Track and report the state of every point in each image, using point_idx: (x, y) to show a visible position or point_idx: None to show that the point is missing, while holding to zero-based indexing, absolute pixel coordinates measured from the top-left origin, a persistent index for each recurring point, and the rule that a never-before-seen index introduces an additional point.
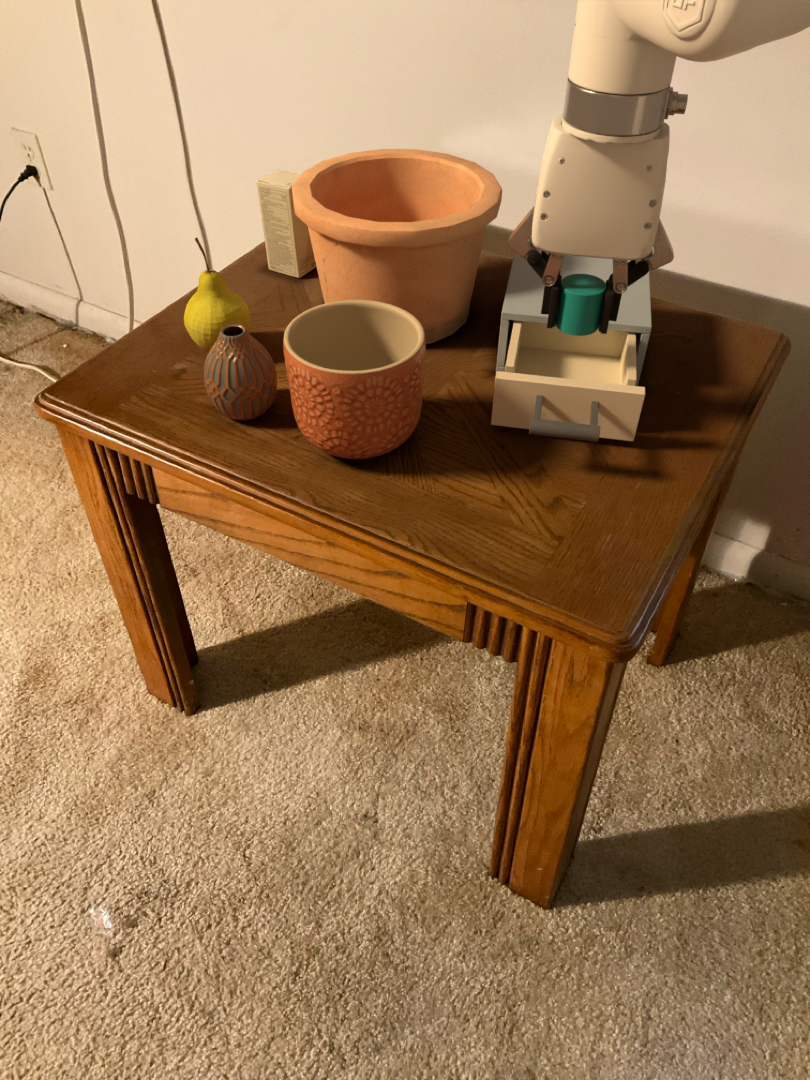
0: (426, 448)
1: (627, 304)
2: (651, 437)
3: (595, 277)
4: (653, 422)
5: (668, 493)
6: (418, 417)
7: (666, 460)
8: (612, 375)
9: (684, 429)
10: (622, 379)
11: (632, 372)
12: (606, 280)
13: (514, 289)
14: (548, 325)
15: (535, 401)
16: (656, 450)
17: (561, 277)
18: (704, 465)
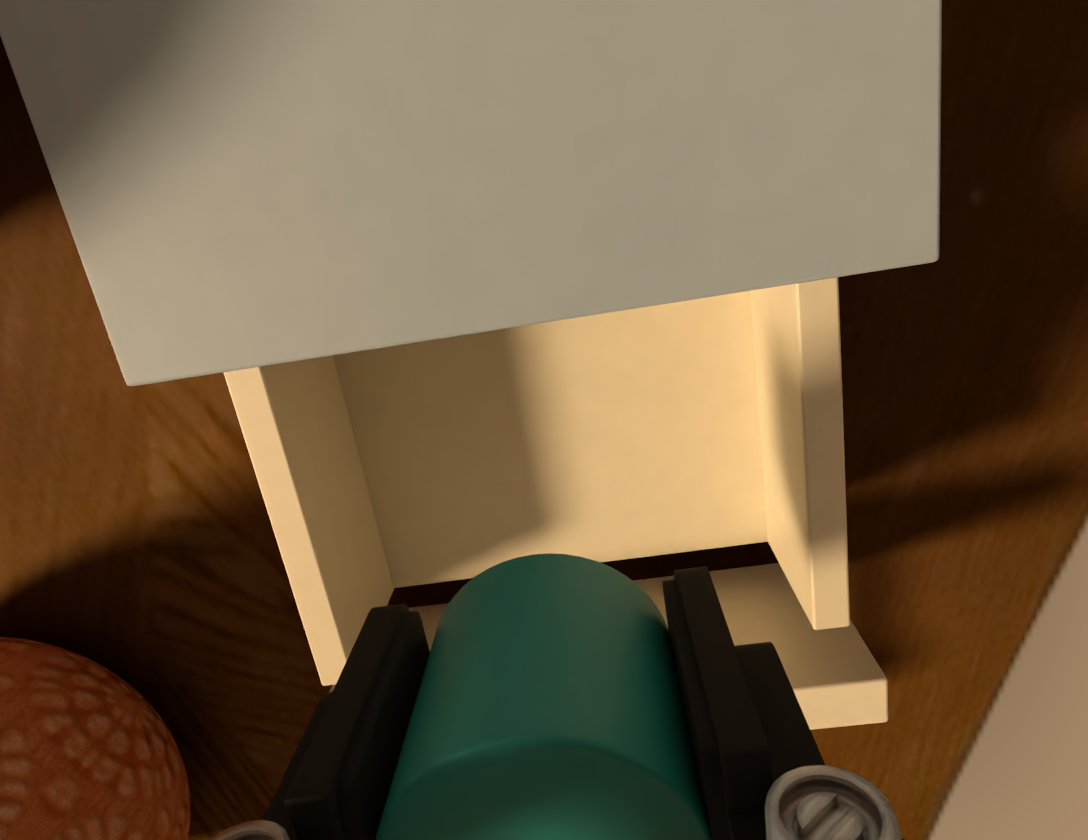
0: (249, 732)
1: (786, 23)
2: (866, 500)
3: (612, 769)
4: (873, 419)
5: (913, 715)
6: (174, 818)
7: (912, 591)
8: (718, 306)
9: (981, 424)
10: (771, 422)
11: (831, 585)
12: (705, 788)
13: (68, 98)
14: None
15: None
16: (882, 556)
17: (360, 832)
18: (1028, 579)
